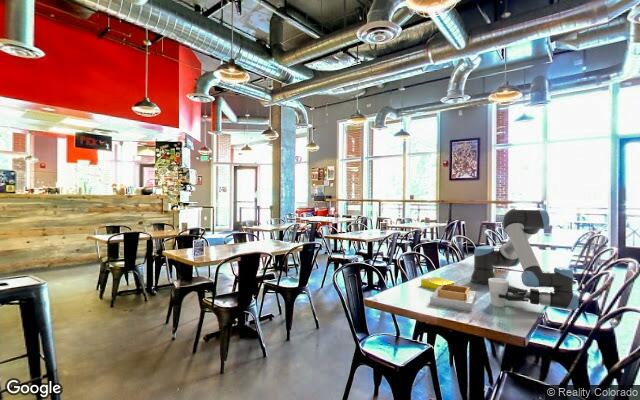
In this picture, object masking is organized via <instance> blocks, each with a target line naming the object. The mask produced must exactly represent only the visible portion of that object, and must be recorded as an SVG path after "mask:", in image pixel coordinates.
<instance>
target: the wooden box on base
mask: <svg viewBox="0 0 640 400" xmlns="http://www.w3.org/2000/svg"><path fill="white" fill-rule="evenodd" d="M476 300H477V291H475V290H471V287H469V286H464V285H463V286H462V285H455V284H454V285H448V284H442V285H441V286H439V287H438V288H437V289H436V291H435V290H434V291H433V293H432V294H431V295H430V299H429V305H430V306H435V307H442V308H448V309H455V310H461V311H467V312H472V311H473V308H474V305H475V303H476Z"/></svg>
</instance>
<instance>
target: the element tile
mask: <svg viewBox="0 0 640 400" xmlns="http://www.w3.org/2000/svg"><path fill="white" fill-rule="evenodd" d="M442 284H448V285H455V281H453V280H450V279H445V278H441V277H438V276H433V277H428V278H422V279H421V280H420V286H421V287H423V288H427V289H429V290H433V291H434V292H435V291H436V289H437V288H438V287H439V286H441V285H442Z"/></svg>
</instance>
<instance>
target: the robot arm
mask: <svg viewBox="0 0 640 400" xmlns="http://www.w3.org/2000/svg"><path fill="white" fill-rule="evenodd" d="M549 226H550V216H549V213H548V211H547V210H546V209H545V208H541V207H540V208H539V207H515V208H511V209H510V210H508V211H507V212H506V213H505V215H504V217H503V219H502V228H503V231H504V233H506V234H507V235H508V237H509V238H508V240H507V241H506V243H503V244H501V246H500V247H499V248H498V247H494V246H493V245H481V246H480V245H479V246H477V247H475V248H474V252H473V253H474V254H473V255H474V256H473V265H474V266H473V271H472V275H471V277H470V281H471V282H473V283H475V284H479V285H488V286H489V284H488V279H490V278H497V277H496V274H495V271H494V268H495V267H508V268H509V267H510V268H512V267H516V266H518V265H519V264H520V265H521V268H522V270H523V272H521V278H520V279H521V283H522V284H523V286H525V287H528V288H530V289H529V291H528V289H523V288H519V287H514V286H510V285H509V286H508V291H507V293H499V292H492V291H491V297H494V298H501V299H506V302H527V303H528V302H529V303H530V304H531V305H540V306H544V307H545V308H546V307H547V308H548V307H553V308H560V309H566V310H577V309H579V296H578V294H577V293H574V290H573V289H574V288H573V287H574V286H573V285H574V272H573V269H571V268H569V267H564V266H563V267H562V266H556V267H554V268H553V271H545V270H544V271H543V270H542V269H541V268H542V267H541V266H540V264H539V261H538V260H537V257H536V255H535V253H534V251H533V249H532V246H531V244H530V241H529V239H530V238H531V237H532V235H536V234H538V232H539V231H540V230H545V229H546V230H547V229H548V228H549ZM538 288H553V290H547V289H538ZM491 297H490V298H491Z"/></svg>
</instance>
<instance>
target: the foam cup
mask: <svg viewBox="0 0 640 400" xmlns="http://www.w3.org/2000/svg"><path fill="white" fill-rule="evenodd" d="M509 283H510V282H509V280H507V279H504V278H498V277H496V278H490V279H488V284H489V285H488V284H487V285H488V288H489V295H490V304H491V306H495V307H500V308H503V307H504V308H505V306H506V302H507V300H506V299H501V298H494V297H491V291H492V292H499V293H507V291H508V286H510V284H509Z"/></svg>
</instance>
